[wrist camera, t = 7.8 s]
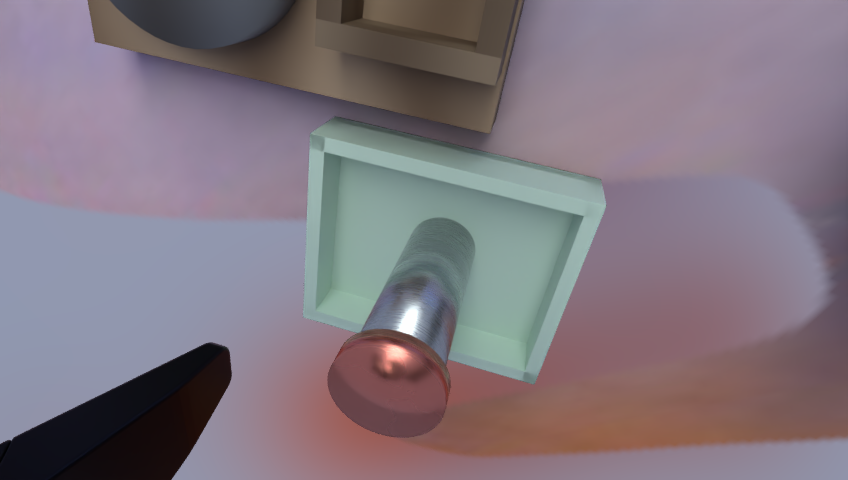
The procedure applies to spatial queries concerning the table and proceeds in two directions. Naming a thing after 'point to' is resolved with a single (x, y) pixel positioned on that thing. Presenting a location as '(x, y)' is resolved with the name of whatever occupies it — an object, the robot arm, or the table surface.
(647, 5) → the table surface
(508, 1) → the block
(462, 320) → the tray
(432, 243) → the pin
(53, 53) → the table surface
